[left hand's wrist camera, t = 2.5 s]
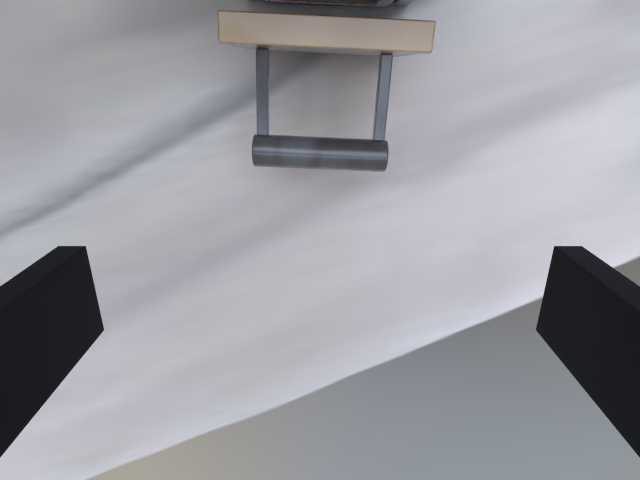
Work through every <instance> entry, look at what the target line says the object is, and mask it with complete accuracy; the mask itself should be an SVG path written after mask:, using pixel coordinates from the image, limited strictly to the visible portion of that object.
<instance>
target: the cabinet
mask: <svg viewBox="0 0 640 480" xmlns="http://www.w3.org/2000/svg"><path fill="white" fill-rule="evenodd" d="M413 1H415V0H394V1H393V2H392V3H390V4H389V5H399V6H407V5H409V4H410V3H412V2H413Z"/></svg>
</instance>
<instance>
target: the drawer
mask: <svg viewBox="0 0 640 480" xmlns="http://www.w3.org/2000/svg"><path fill="white" fill-rule="evenodd" d="M264 1H272V2H293V3H313V4H333V5H353V6H373V7H387V6H389V4H390V3H392V2H393V1H394V0H264ZM435 23H436V22H435V21H426V20H406V19H385V18H365V17H345V16H324V15H304V14H284V13H263V12H243V11H223V10H219V11H218V33H219V42H220V43H223V44H228V45H233V46H238V47H242V48H247V49H252V50H256V83H257V134H255V135H254V137H253V142H252V160H253V164H254V166H265V167H288V168H311V169H335V170H358V171H381V172H384V171H385V170H386V167H387V162H388V142H387V140H385V129H386V119H387V109H388V99H389V89H390V79H391V68H392V58H393V56H404V55H414V54H424V53H431V52H432V47H433V39H434V31H435ZM269 51H290V52H311V53H332V54H353V55H374V56H380V58H379V70H378V81H377V92H376V104H375V115H374V126H373V139H350V138H328V137H305V136H283V135H268V134H269Z"/></svg>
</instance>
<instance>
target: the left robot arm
mask: <svg viewBox="0 0 640 480" xmlns="http://www.w3.org/2000/svg"><path fill="white" fill-rule="evenodd" d="M536 330H537V332H538V333H539V334H540V335H541V337H542V338H543V339H544V340H545V342H546V343H547V344H548V345H549V347H550V348H551V349H552V350H553V351H554V353H555V354H556V355H557V356H558V358H559V359H560V360H561V361H562V362H563V364H564V365H565V366H566V367H567V369H568V370H569V371H570V372H571V373H572V375H573V376H574V377H575V378H576V380H577V381H578V382H579V383H580V385H581V386H582V387H583V388H584V389H585V391H586V392H587V393H588V394H589V396H590V397H591V398H592V399H593V401H594V402H595V403H596V404H597V405H598V407H599V408H600V409H601V410H602V412H603V413H604V414H605V415H606V417H607V418H608V419H609V420H610V421H611V423H612V424H613V425H614V426H615V428H616V429H617V430H618V431H619V432H620V434H621V435H622V436H623V437H624V439H625V440H626V441H627V442H628V444H629V445H630V446H631V447H632V448H633V450H634V451H635V452H636V453H637V455H638V456H639V457H640V286H638V285H637V284H635V283H634V282H632V281H631V280H629V279H628V278H627V277H625V276H624V275H622V274H621V273H619V272H618V271H616V270H615V269H614V268H612V267H611V266H609V265H608V264H606V263H605V262H604V261H602V260H601V259H599V258H598V257H596V256H595V255H594V254H592V253H591V252H589V251H588V250H586V249H585V248H583V247H582V246H554V250H553V255H552V259H551V264H550V268H549V273H548V277H547V282H546V287H545V291H544V296H543V300H542V305H541V310H540V314H539V319H538V323H537V328H536ZM103 331H104V328H103V323H102V319H101V314H100V309H99V305H98V300H97V296H96V291H95V287H94V282H93V277H92V273H91V268H90V264H89V259H88V255H87V250H86V246H58V247H57V248H55V249H54V250H52V251H51V252H49V253H48V254H46V255H45V256H44V257H42V258H41V259H39V260H38V261H36V262H35V263H34V264H32V265H31V266H29V267H28V268H26V269H25V270H23V271H22V272H21V273H19V274H18V275H16V276H15V277H13V278H12V279H10V280H9V281H8V282H6V283H5V284H3V285H2V286H0V457H1V456H2V455H3V453H4V452H5V451H6V450H7V448H8V447H9V446H10V445H11V444H12V442H13V441H14V440H15V439H16V437H17V436H18V435H19V434H20V432H21V431H22V430H23V429H24V428H25V426H26V425H27V424H28V423H29V421H30V420H31V419H32V418H33V417H34V415H35V414H36V413H37V412H38V410H39V409H40V408H41V407H42V405H43V404H44V403H45V402H46V401H47V399H48V398H49V397H50V396H51V394H52V393H53V392H54V391H55V389H56V388H57V387H58V386H59V385H60V383H61V382H62V381H63V380H64V378H65V377H66V376H67V375H68V374H69V372H70V371H71V370H72V369H73V367H74V366H75V365H76V364H77V362H78V361H79V360H80V359H81V358H82V356H83V355H84V354H85V353H86V351H87V350H88V349H89V348H90V347H91V345H92V344H93V343H94V342H95V340H96V339H97V338H98V337H99V335H100V334H101V333H102V332H103Z"/></svg>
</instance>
